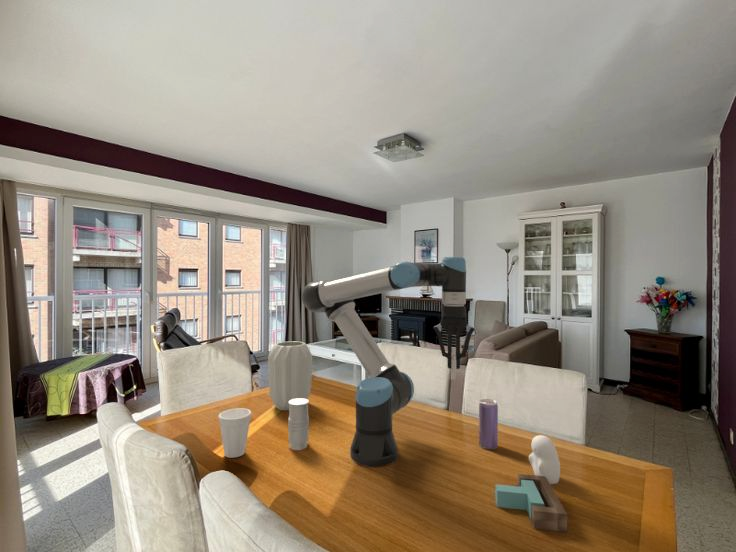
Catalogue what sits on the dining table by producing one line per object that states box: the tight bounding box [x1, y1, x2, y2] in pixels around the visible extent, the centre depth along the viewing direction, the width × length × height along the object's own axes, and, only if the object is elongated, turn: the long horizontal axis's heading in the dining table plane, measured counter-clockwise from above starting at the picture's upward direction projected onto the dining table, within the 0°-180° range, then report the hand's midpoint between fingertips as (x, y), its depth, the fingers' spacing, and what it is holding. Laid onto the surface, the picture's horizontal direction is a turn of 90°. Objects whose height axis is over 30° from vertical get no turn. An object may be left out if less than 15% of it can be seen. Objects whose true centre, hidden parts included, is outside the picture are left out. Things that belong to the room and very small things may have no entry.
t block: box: [494, 480, 545, 520], centre depth 93 cm, size 10×10×4 cm
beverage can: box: [478, 398, 499, 451], centre depth 126 cm, size 6×6×15 cm
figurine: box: [528, 434, 561, 485], centre depth 106 cm, size 7×8×12 cm
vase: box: [267, 340, 313, 412], centre depth 164 cm, size 20×20×28 cm
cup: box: [217, 407, 252, 459], centre depth 120 cm, size 10×10×13 cm
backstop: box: [517, 473, 568, 533], centre depth 92 cm, size 7×16×4 cm, turn 170°
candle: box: [287, 398, 310, 451], centre depth 126 cm, size 7×7×15 cm
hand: (453, 378), depth 120 cm, fingers closed
